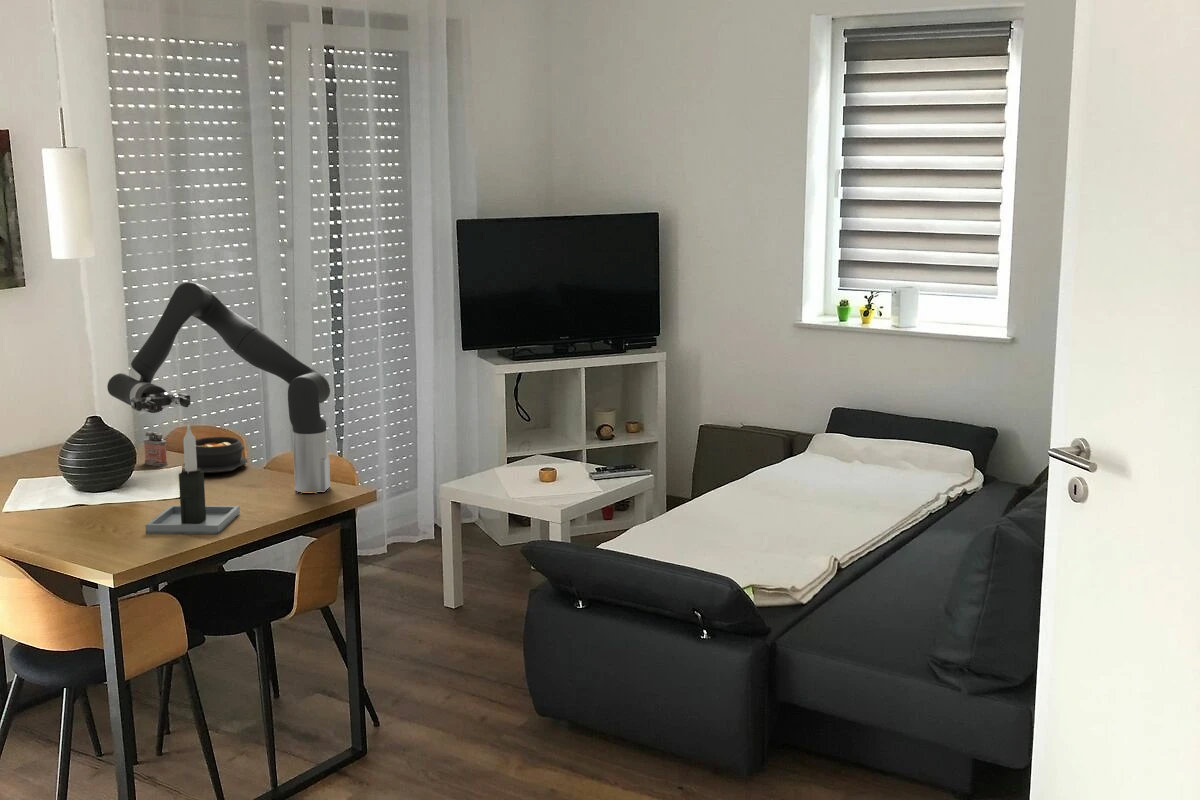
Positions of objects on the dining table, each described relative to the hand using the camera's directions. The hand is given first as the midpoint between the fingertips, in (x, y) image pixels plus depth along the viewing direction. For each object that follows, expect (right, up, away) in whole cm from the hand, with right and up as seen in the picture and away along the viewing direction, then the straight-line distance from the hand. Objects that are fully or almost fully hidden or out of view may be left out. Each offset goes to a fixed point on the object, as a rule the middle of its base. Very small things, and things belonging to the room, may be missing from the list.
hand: (171, 405), depth 313 cm
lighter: (-25, -19, +56) cm, 64 cm away
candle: (+8, -30, -7) cm, 32 cm away
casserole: (-5, -20, +51) cm, 55 cm away
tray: (+8, -30, -7) cm, 32 cm away
